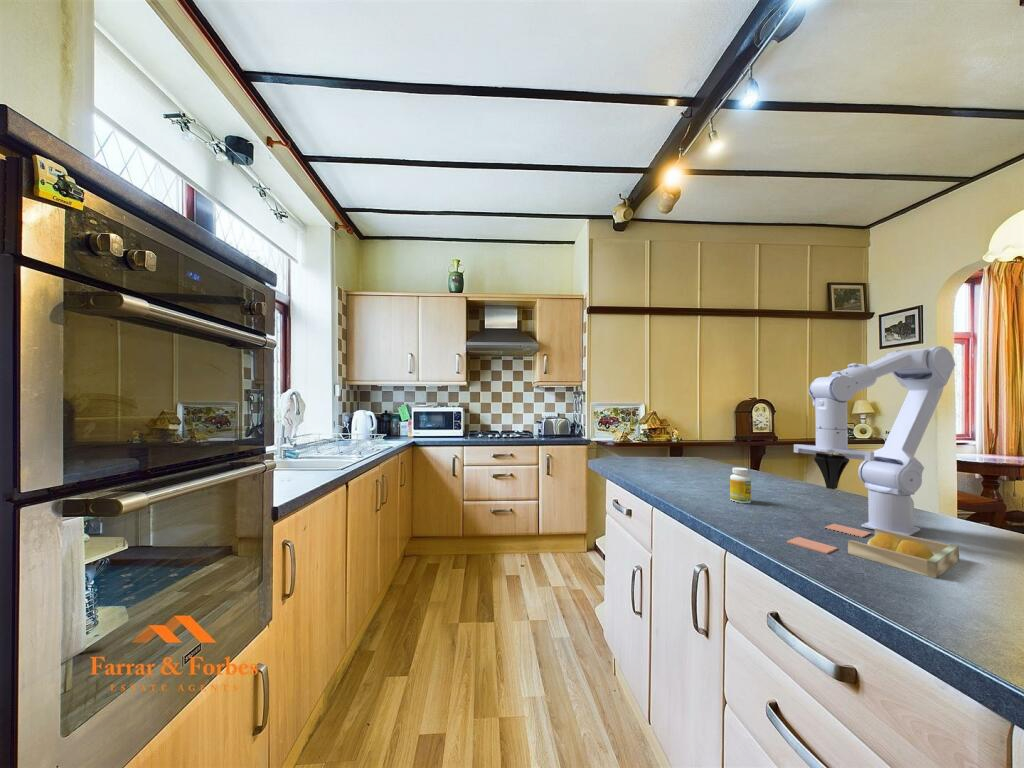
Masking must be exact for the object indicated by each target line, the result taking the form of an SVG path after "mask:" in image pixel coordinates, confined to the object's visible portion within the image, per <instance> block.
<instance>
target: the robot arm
mask: <svg viewBox="0 0 1024 768" xmlns="http://www.w3.org/2000/svg"><path fill="white" fill-rule="evenodd" d="M955 367H956V362H955V360H954V357H953V355H952V352H951V351H950V349H948V348H947V347H946V346H943V345H941V346H940V345H936V346H933V347H925V348H916V349H914V348H913V349H904V350H902V349H898V350H894V351H892V352H888V353H886V355H885V356H883V357H880V358H879V359H877V360H875V361H872V362H871V363H869V364H863V363H858V362H857V363H854V362H853V363H850V364H847V368H845V369H841V370H837V371H833V372H831V374H830V375H829V376H821V377H817V378H815V379H814V380H813V381H811V383H810V385H809V388H808V389H807V391H808V395H809V397H810V398H811V400H812V406H813V408H814V411H815V412H814V413H815V417H814V419H815V445H814V444H813V445H812V444H799V443H798V444H797V443H796V444H793V453H796V454H800V453H801V454H809V455H815V456H814V457H813V460H814V462H815V463H816V465H817V467H818V468H819V470H820V472H821V474H822V477H823V479H824V484H825V488H826V489H830V490H837V489H838V485H839V482H840V479H841V476H842V473H843V472H844V470H845V468H846V467H847V465H848V464H849V462H850V460H851V459H852V460H862V462H861V463H860V464H859V467H858V471H857V473H858V475H857V476H858V477H859V480H860V481H861V482H862V483H863V484H864V488H866V489H867V495H868V496H867V497H868V498H867V499H868V500H867V502H868V504H867V505H868V506H867V507H868V512H867V514H868V521H866V522H865V523H863V524H860V525H861V528H866V529H869V530H874V531H875V529H876V528H878V529H882V530H886V531H891V532H895V533H900V534H904V535H909V536H912V535H914V534H916V533H917V532H919V531H921V528H920V527H917V526H915V503H914V500H913V497H911V495H914V496H915V494H916V492H917V491H918V490H919V489H920V488H921V486H922V483H923V472H924V469H925V466H924V465H923V464H922V463H921V461H919V460H918V459H917V457H915V454H916V452H917V450H918V448H919V446H920V443H921V441H922V439H923V437H924V434H925V432H926V430H927V428H928V425H929V423H930V421H931V419H932V417H933V415H934V412H935V410H936V407H937V406H938V404H939V401H940V399H941V397H942V395H943V391H944V389H945V388H944V387H945V386H947V384H948V382H949V380H950V377H951V375H952V374H953V371H954V369H955ZM891 373H892V375H893V376H894V377H895V378H896V380H897V382H898V383H899V385H900V386H901V387H903V388H905V389H907V390H908V392H907V395H906V397H905V399H904V400H903V401H904V402H903V403H902V406H901V408H900V409H899V412H898V414H897V416H896V418H895V420H894V423H893V425H892V427H891V429H890V431H889V433H888V436H887V438H886V440H885V442H884V445H883V446H882V447H881V448H877V449H875V450H873V451H869V450H864V449H862V450H861V449H855V448H854V449H853V448H849V447H848V446H849V445H848V441H849V440H848V438H849V437H848V401H851V400H852V399H853V398H854V396H855V393H858V392H861V391H862V390H865V389H867V388H870V387H872V386H873V385H875V384H876V382H877V378H878V379H879V378H881V377H882V376H886V375H889V374H891ZM895 378H894V379H895Z"/></svg>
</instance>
